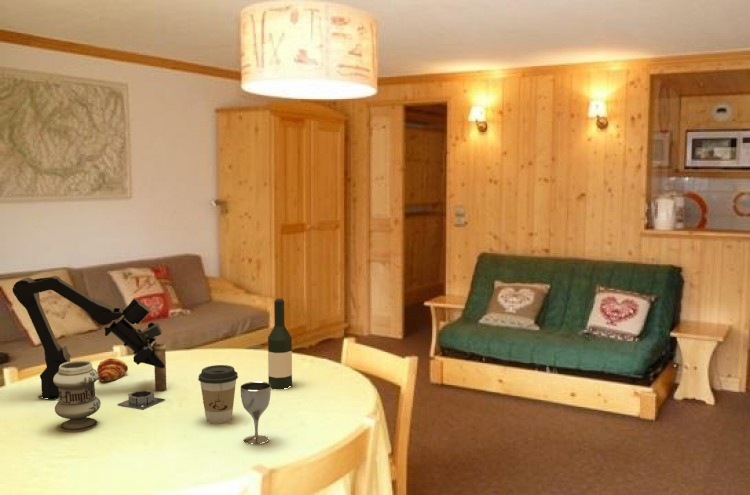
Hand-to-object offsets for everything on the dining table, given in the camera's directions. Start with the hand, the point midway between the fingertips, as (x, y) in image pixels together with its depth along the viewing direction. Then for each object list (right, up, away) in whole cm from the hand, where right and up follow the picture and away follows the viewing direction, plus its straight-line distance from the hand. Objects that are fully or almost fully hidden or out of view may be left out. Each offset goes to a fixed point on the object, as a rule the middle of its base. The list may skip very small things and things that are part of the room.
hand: (164, 365), depth 236 cm
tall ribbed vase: (-1, -8, +1) cm, 8 cm away
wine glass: (+38, -13, -43) cm, 59 cm away
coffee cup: (+24, -11, -27) cm, 38 cm away
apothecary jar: (-15, -12, -33) cm, 38 cm away
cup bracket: (-3, -10, -13) cm, 16 cm away
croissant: (-23, -7, +17) cm, 29 cm away
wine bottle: (+38, -8, +5) cm, 39 cm away
